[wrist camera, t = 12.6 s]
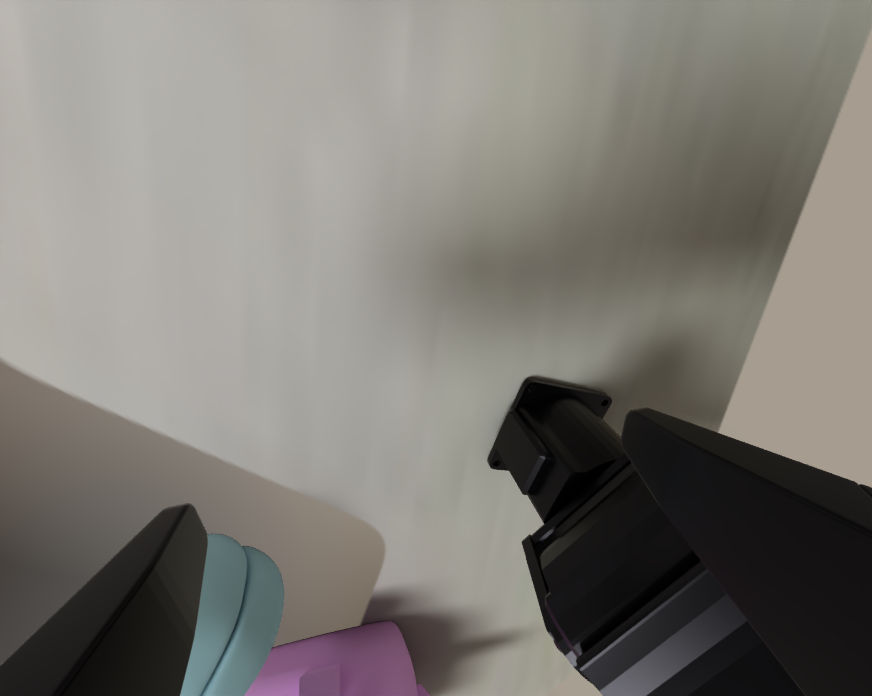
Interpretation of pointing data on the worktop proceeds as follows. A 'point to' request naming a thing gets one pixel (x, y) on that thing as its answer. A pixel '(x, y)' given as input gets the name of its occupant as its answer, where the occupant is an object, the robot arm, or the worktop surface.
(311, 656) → the teakettle
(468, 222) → the worktop surface
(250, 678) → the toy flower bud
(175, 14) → the worktop surface
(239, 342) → the worktop surface
